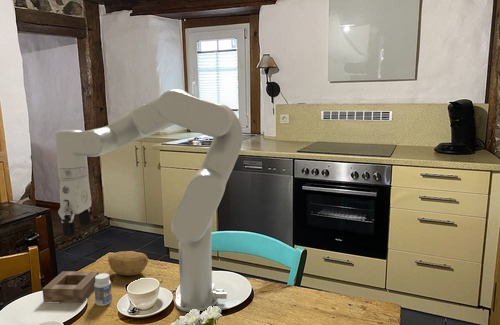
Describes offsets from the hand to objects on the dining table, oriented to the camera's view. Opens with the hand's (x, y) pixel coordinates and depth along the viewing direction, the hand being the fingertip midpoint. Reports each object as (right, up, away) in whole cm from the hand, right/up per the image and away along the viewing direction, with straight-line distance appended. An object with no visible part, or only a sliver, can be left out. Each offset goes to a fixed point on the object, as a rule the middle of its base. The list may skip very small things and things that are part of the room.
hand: (77, 229), depth 117 cm
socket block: (-5, -21, +9) cm, 24 cm away
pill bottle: (+7, -23, +3) cm, 24 cm away
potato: (+8, -19, +22) cm, 30 cm away
